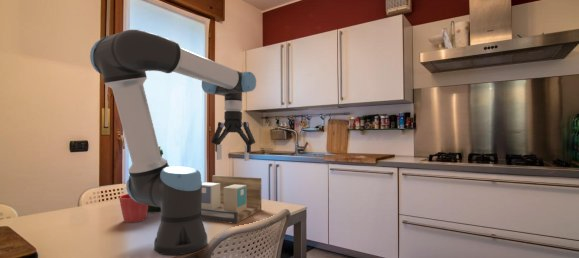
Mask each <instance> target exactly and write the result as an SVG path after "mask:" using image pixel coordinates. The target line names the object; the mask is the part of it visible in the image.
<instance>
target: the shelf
mask: <svg viewBox="0 0 579 258" xmlns="http://www.w3.org/2000/svg"><path fill="white" fill-rule="evenodd" d="M211 183H220V207H217V208H215V209H205V208H201V218H202V220H206V221H213V220H214V222H221V223H222V222H223V223H229V222H232V224H238V223H240V222H242V221H244V220H245V219H247V218H249V217H251V216H253V215H255V214H257V213H258V212H260V211H262V178H261V177H252V176H251V177H247V176H233V175H232V176H231V175H214V174H213V175H212V182H211ZM234 184H236V185H246V208H247V209H245V210H243V211H241V212H239V213H238V212H232V211H224V187H227V186H230V185H234ZM254 213H255V214H254ZM252 214H253V215H252ZM243 219H244V220H243ZM241 220H242V221H241ZM239 221H240V222H239ZM237 222H238V223H237Z"/></svg>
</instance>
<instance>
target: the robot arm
mask: <svg viewBox="0 0 579 258" xmlns="http://www.w3.org/2000/svg"><path fill="white" fill-rule="evenodd" d="M89 59H90V60H89V61H90V64H91V66H92V67H93V69H94V70H95V71H96V72H97V73H99V75H100V76H102V79H103V83H104V85H105V86H107V87H108V88H111V90H112V94H113V97H114V101H115V104H116V107H117V113H118V116H119V119H120V120H119V121H120V123H121V126H122V131H123V133H124V134H123V135H124V137H125V142H126V145H127V149H128V152H129V153H128V154H129V157H130V160H131V165H130V167H129V168H128V173H129V176H128V179H127V181H126V187H125V188H126V192H127V194H129V196H130V197H131V198H132V199H133V200H134V201H136V202H138V203H140V204H143V205H150V206H155V207H160V208H161V211H160V223H159V226H158V230H157V234H156V237H155V239H154V242H153V246H154V247H153V248H154V249H153V251H155V252H156V253H157V254H159V255H164V256H165V255H166V256H179V255H185V254H190V253H194V252H197V251H200V250H201V249H203V248H204V247H206V246H207V245H208V234H207V232H206V229H205V226H204V223H203V219H202V218H201V201H202V183H203V182H202V175H201V174H202V173H201V172H200V171H199V170H198V169H196V168H194V167H188V166H177V165H175V166H169V167H168V165H169V163H168V160H167V159H166V158H164V157H163V156H162V157H161V155H160V151H159V147H160V146H159V143H158V139H157V135H156V131H155V128H154V123H153V119H152V116H151V112H150V107H149V103H148V100H147V95H146V90H145V88H144V87H145V86H144V84H145V82H146V80H147V79H148V76H147V73H146V72H151V71H153V72H161V73H166V74H171V73H176V74H179V75H182V76H186V77H189V78H192V79H195V80H199V81H201V88H202V90H203V92H204V93H206V94H210V95H216V96H223V97H224V117H223V119H224V122H222V121H219V122H217V127H216V130H215V131H214V134H213V137H212V138H211V143H212V144H214V145H215V146H214V147H215V148H214V149H215V150H214V151H215V153H216V160H217V161H219V160H222V153H223V152H222V151H223V150H222V149H223V147H222V145H223V144H221V143H222V142H223V141H224V139H225V138H226V136H227V135H228V134H229V133H237V134H238V135H239V136H240V137H241V139H242V140H243V141H244V143H245V145H244V162H247V161H250V153H251V152H252V145H254V144H255V143H256V140H255V138H254V136H253V133H252V131H251V129H250V125H249V122H248V121H244V122H243V120H242V119H243V111H242V110H243V93H249V92H253V91H254V90H255V89H256V86H257V78H256V76H255V74H254V73H253V72H252V71H242V72H241V71H238V70H235V69H233V68H231V67H228V66H226V65H224V64H221V63H218V62H216V61H213V60H211V59H209V58H207V57H204V56H201V55H200V54H197V53H194V52H193V51H189V50H187V49H184V48H181V46H180V44H179V43H178V42H176V41H174V40H172V39H170V38H167V37H164V36H161V35H159V34H155V33H152V32H150V31H146V30H141V29H127V30H126V29H125V30H123V31H121V32H118V33H115V34H110V35H107V36H103V37H102V38H100V39H98V40H97V41H96V42H95V43H93V45H92V47H91V49H90V54H89ZM242 127H243V129H244V130H243V129H242ZM244 131H245V132H244ZM158 146H159V147H158Z"/></svg>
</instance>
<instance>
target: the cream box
mask: <svg viewBox="0 0 579 258" xmlns="http://www.w3.org/2000/svg"><path fill="white" fill-rule="evenodd" d="M217 207H220V183H212V182H205V181H204V182H202V201H201V208H205V209H215V208H217Z"/></svg>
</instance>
